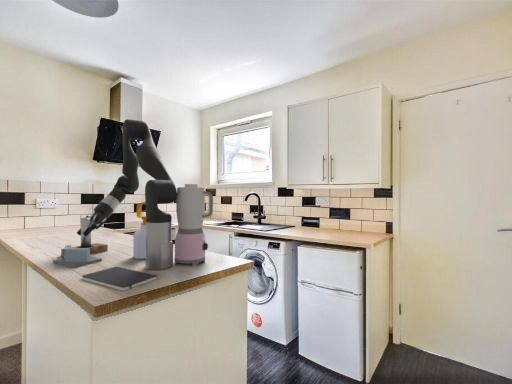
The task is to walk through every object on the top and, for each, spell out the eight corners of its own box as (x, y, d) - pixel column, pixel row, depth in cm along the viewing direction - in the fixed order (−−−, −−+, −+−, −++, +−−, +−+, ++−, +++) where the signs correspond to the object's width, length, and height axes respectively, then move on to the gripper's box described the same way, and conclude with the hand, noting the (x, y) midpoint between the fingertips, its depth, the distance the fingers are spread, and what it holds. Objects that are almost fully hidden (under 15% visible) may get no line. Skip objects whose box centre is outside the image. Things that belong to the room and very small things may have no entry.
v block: (102, 261, 109) (102, 246, 109) (74, 267, 99) (74, 251, 99) (81, 256, 116) (81, 242, 116) (52, 262, 106) (52, 247, 106)
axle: (93, 248, 123) (93, 217, 123) (84, 249, 119) (84, 218, 119) (87, 247, 125) (87, 217, 125) (78, 248, 121) (78, 218, 121)
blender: (168, 265, 104) (169, 183, 104) (182, 257, 116) (183, 184, 116) (206, 268, 101) (207, 183, 101) (217, 260, 113) (218, 184, 113)
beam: (97, 249, 131) (97, 242, 131) (107, 250, 127) (107, 244, 127) (61, 255, 117) (61, 249, 117) (71, 258, 113) (71, 251, 113)
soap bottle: (150, 259, 113) (151, 201, 113) (129, 259, 113) (129, 201, 113) (158, 254, 122) (159, 200, 122) (139, 254, 122) (139, 200, 122)
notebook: (157, 280, 89) (116, 270, 98) (157, 275, 89) (116, 266, 98) (123, 292, 77) (80, 280, 87) (123, 287, 77) (80, 275, 87)
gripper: (92, 201, 132) (66, 228, 121) (111, 201, 125) (84, 230, 114) (103, 211, 137) (78, 238, 126) (121, 212, 130) (97, 241, 119)
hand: (81, 234), depth 120 cm, fingers closed on axle, 4 cm apart
